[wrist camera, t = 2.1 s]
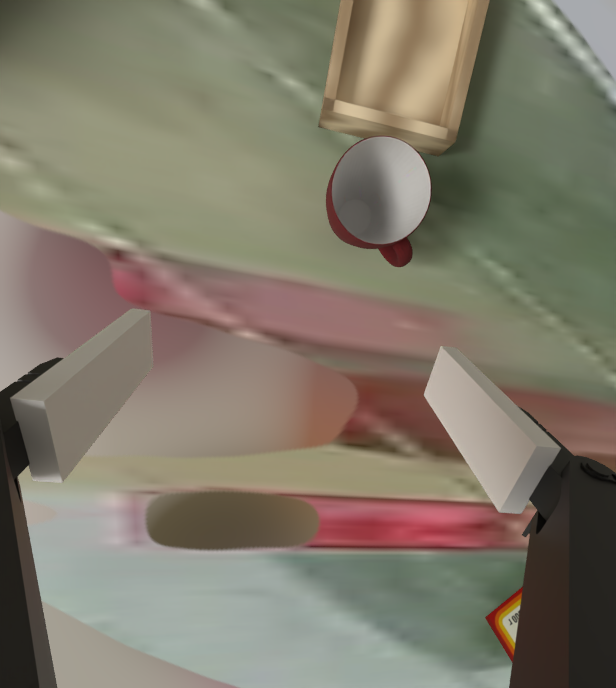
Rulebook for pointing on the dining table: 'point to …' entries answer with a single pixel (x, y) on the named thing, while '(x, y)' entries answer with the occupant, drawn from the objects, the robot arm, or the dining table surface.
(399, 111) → the wooden tray
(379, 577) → the dining table surface
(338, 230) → the mug
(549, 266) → the dining table surface
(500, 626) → the baking soda box
